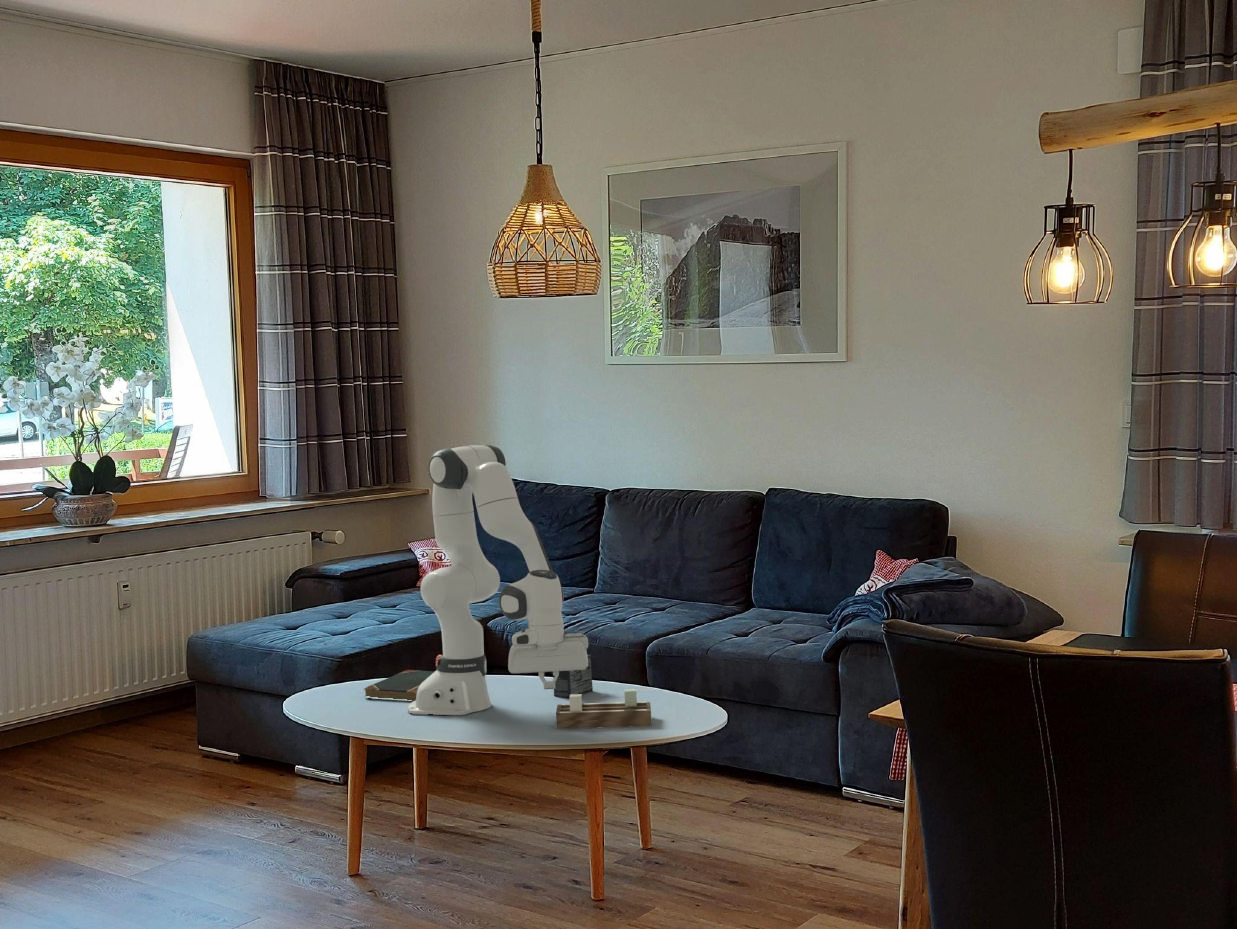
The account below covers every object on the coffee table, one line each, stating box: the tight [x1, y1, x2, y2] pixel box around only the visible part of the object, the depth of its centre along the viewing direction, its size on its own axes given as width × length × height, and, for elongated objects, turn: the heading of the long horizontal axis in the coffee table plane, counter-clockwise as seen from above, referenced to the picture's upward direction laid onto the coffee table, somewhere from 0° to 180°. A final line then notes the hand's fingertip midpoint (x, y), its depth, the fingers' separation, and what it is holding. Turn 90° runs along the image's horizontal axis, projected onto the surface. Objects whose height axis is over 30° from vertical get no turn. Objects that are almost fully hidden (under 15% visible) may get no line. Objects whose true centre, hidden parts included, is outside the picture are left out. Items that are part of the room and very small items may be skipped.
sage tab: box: [624, 688, 638, 706], centre depth 325 cm, size 3×2×6 cm
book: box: [363, 669, 435, 701], centre depth 367 cm, size 17×4×25 cm
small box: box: [552, 654, 594, 700], centre depth 356 cm, size 11×6×10 cm, turn 144°
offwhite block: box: [569, 694, 583, 711], centre depth 321 cm, size 3×2×6 cm
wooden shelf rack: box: [555, 701, 652, 730], centre depth 324 cm, size 24×9×4 cm, turn 90°
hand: (549, 688), depth 321 cm, fingers closed
